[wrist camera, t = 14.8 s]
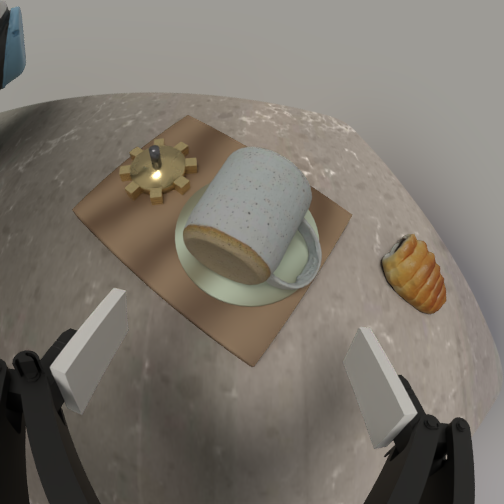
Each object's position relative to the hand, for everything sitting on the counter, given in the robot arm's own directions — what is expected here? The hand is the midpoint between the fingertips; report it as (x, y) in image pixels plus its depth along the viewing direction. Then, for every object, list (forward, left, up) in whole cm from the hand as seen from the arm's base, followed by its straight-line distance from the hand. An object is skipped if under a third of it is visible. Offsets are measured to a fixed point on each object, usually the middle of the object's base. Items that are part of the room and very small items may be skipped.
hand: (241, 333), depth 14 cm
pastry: (+12, +17, -9) cm, 23 cm away
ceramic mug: (-3, +8, -7) cm, 11 cm away
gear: (-16, +8, -7) cm, 20 cm away
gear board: (-9, +8, -8) cm, 15 cm away
